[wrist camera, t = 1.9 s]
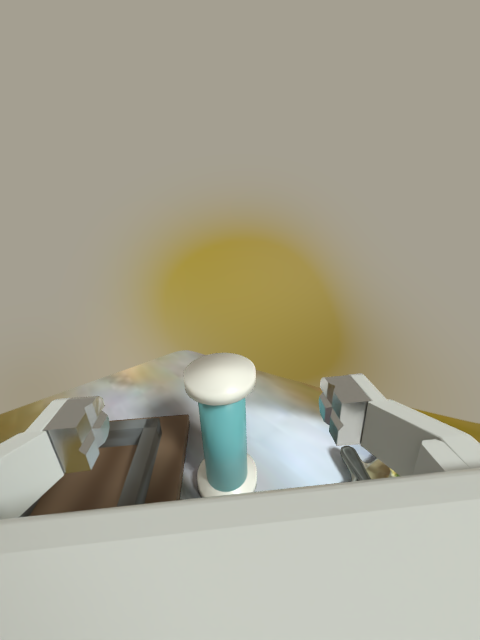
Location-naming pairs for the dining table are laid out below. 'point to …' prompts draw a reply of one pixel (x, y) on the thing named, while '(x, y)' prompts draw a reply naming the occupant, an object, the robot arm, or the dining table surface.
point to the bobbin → (223, 422)
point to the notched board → (125, 469)
